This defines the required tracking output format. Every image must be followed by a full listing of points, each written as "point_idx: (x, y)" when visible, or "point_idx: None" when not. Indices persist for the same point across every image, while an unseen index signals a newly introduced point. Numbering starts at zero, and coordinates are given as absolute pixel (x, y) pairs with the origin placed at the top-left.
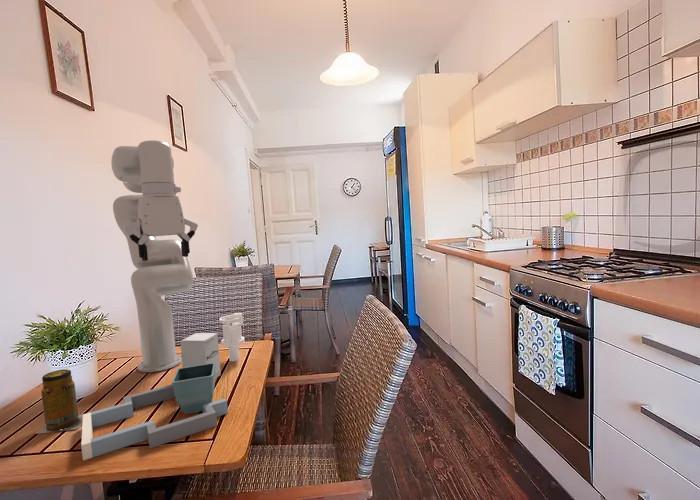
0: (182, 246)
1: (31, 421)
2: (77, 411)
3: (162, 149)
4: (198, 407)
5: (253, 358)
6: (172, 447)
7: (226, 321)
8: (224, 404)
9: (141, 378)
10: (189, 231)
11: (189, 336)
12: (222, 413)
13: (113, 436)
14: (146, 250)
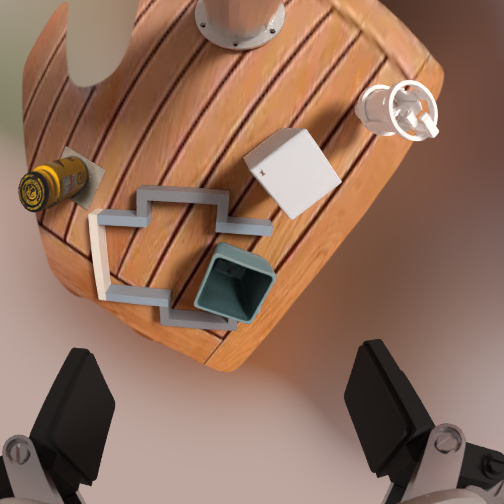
0: (378, 423)
1: (43, 136)
2: (82, 177)
3: None
4: (228, 283)
5: (388, 137)
6: (184, 327)
7: (394, 127)
8: None
9: (189, 59)
10: (481, 491)
11: (281, 149)
12: None
13: (126, 302)
14: (99, 452)
